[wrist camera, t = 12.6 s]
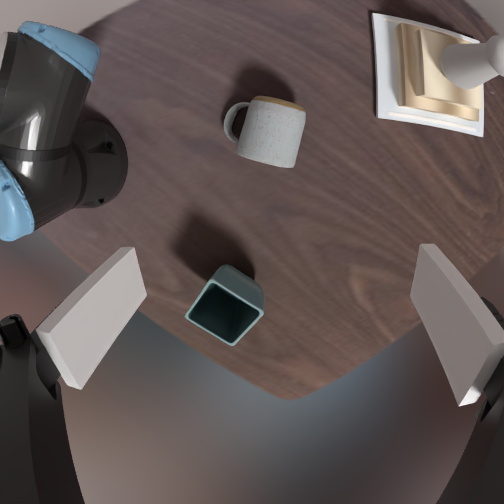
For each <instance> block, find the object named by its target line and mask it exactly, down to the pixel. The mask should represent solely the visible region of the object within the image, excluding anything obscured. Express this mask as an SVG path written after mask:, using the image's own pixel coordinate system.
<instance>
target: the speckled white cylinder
mask: <svg viewBox="0 0 504 504" xmlns="http://www.w3.org/2000/svg"><path fill="white" fill-rule="evenodd" d="M247 106H249V108H248V111H247V114H246V118H245V122H244V125H243V128H242V132H241V135H240V138H239V140H238V139H237V138H236V137H235V136H234V135H233V133H232V124H233V121H234V118H235V116H236V115H237V111H238V110H239V109H241V108H243V107H247ZM305 118H306V111H305V109H304V108H303V107H302V106H300V105H298V104H295V103H292V102H289V101H285V100H281V99H278V98H273V97H267V96H256V97H254V98H253V100H252V101H251V103H248V102H241V103H237V104H235V105H234V106H232V107H231V108H230V109H229V111H228V112H227V114H226V117H225V120H224V131H225V133H226V135H227V137H228V138H229V139H230V140H231V141H232V142H233V143H235V144H237V148H236V153H237V154H238V155H240V156H243V157H246V158H248V159H252V160H255V161H259V162H263V163H267V164H271V165H274V166H279V167H286V168H292V167H294V165H295V161H296V157H297V153H298V149H299V145H300V141H301V136H302V132H303V129H304V125H305Z"/></svg>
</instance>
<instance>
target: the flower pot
mask: <svg viewBox="0 0 504 504" xmlns="http://www.w3.org/2000/svg"><path fill="white" fill-rule="evenodd" d="M263 314H264V295H263V291H262V289H261V287H260V286H259V285H258V284H257V283H256V282H255V281H254V280H253V279H251V278H249V277H248V276H246V275H245V274H243V273H242V272H240V271H239V270H237V269H236V268H234V267H233V266H231V265H222V266H221V267H219V268H218V269H217V271H216V272H215V273H214V275H213V276H212V277H211V278H210V280H209V281H208V282H207V284H206V286H205V287H204V288H203V290H202V291H201V293H200V294H199V296H198V297H197V299H196V300H195V302H194V303H193V304H192V306H191V307H190V309H189V310H188V311H187V312H186V314H185V318H186V319H188V320H189V321H191V322H192V323H194V324H196V325H197V326H199V327H201V328H202V329H204V330H205V331H207V332H209V333H211V334H212V335H214V336H216V337H217V338H219V339H220V340H222V341H224V342H225V343H227V344H229V345H231V346H234V345H235V344H236V343H237V342H238V341H239V340H240V339H241V338H242V337H243V335H245V333H246V332H247V331H248V330H249V329H250V328H251V327H252V326H253V325H254V324H255V323H256V322H257V321H258V320H259V319H260V318H261V317H262V315H263Z"/></svg>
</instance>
